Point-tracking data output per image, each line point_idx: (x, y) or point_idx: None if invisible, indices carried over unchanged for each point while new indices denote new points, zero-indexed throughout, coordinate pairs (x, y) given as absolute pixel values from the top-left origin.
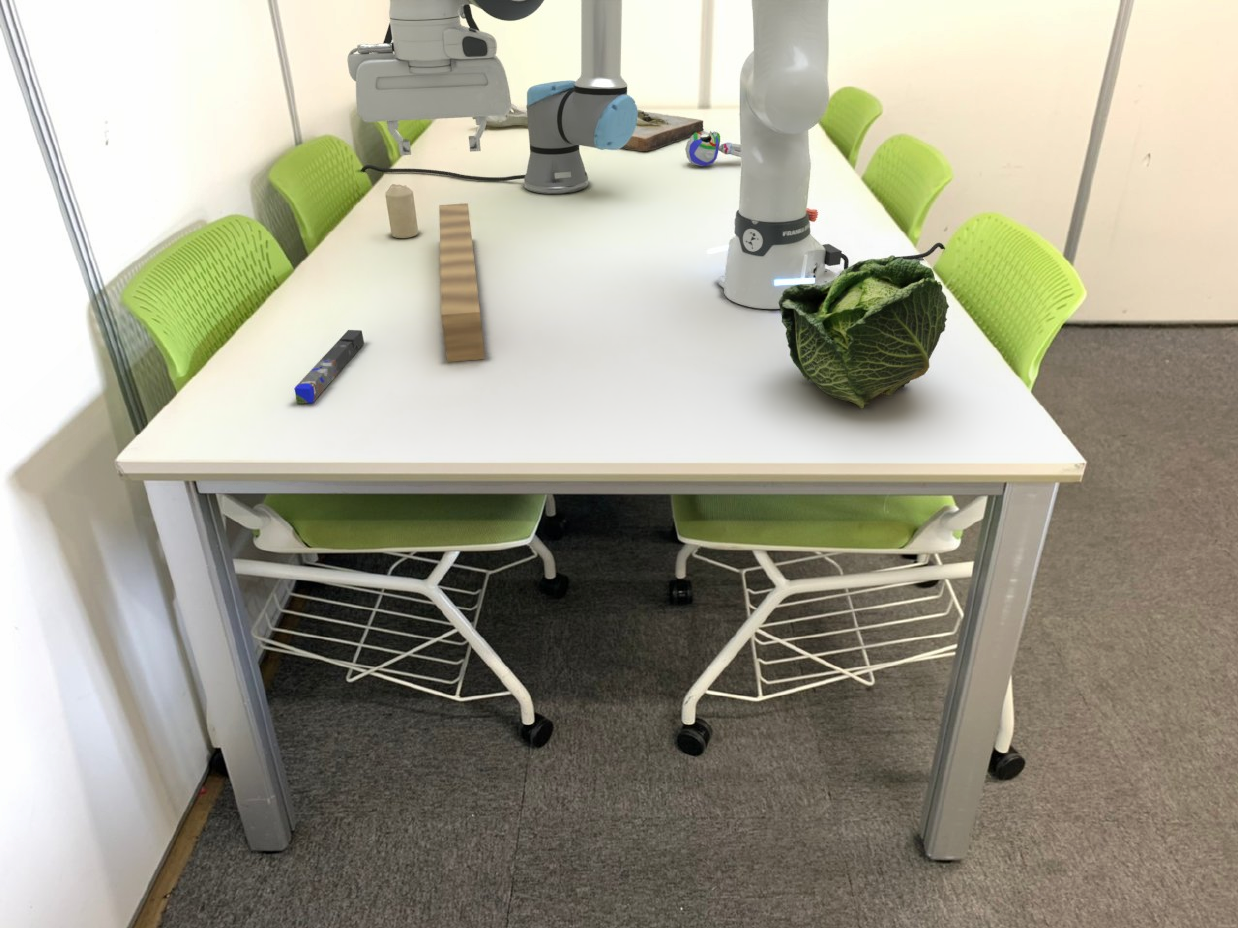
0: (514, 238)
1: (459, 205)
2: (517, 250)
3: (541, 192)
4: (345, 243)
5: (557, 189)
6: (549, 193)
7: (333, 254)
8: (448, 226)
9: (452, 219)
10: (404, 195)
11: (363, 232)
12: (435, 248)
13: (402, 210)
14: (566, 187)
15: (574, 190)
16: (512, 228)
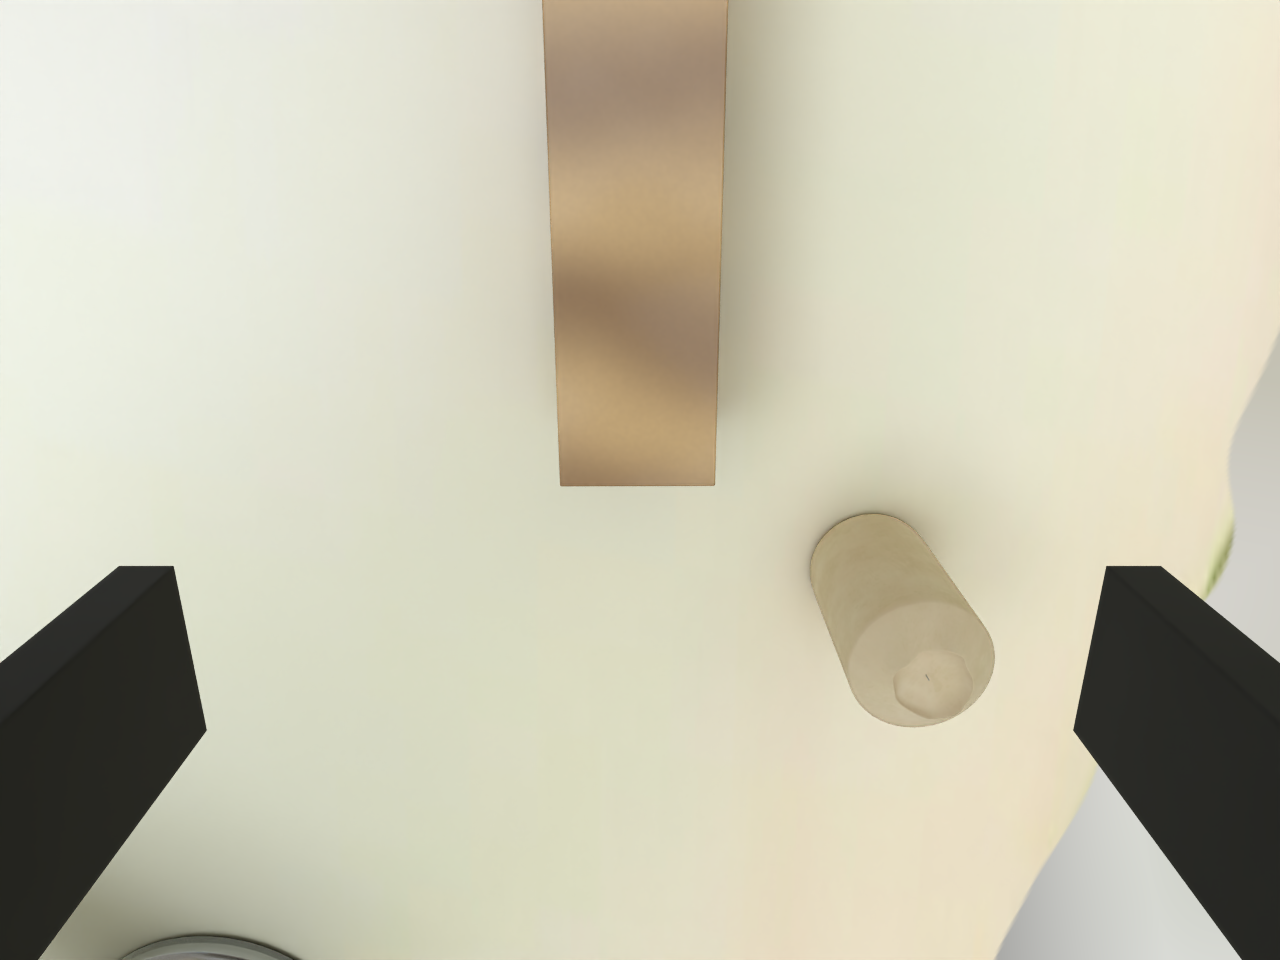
0: (379, 424)
1: (605, 455)
2: (359, 249)
3: (280, 956)
4: (1129, 510)
5: (203, 952)
6: (246, 943)
7: (1198, 374)
8: (674, 51)
9: (648, 195)
10: (897, 608)
11: (1039, 635)
12: (742, 360)
13: (898, 569)
14: (162, 958)
15: (138, 952)
16: (392, 561)
